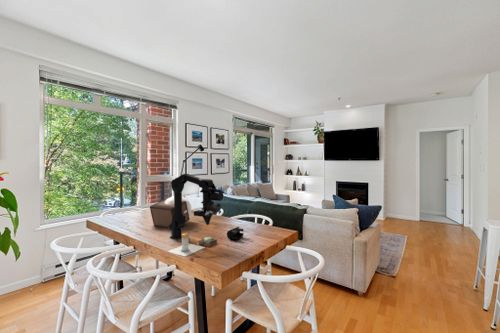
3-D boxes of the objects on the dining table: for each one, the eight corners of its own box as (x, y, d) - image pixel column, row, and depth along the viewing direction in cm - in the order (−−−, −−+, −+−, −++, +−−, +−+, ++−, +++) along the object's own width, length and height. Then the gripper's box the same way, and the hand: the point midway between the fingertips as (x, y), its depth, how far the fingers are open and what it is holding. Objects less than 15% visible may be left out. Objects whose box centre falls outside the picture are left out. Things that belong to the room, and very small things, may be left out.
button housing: (198, 244, 146) (198, 240, 146) (207, 240, 152) (207, 237, 152) (208, 246, 141) (208, 242, 141) (217, 243, 148) (217, 239, 148)
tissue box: (154, 230, 191) (148, 202, 186) (179, 215, 215) (174, 190, 210) (176, 234, 180) (170, 204, 175) (199, 218, 204) (195, 191, 199)
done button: (202, 243, 146) (202, 238, 146) (207, 241, 150) (207, 236, 150) (208, 245, 144) (208, 240, 143) (213, 242, 148) (213, 237, 148)
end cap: (235, 235, 163) (235, 226, 163) (243, 237, 159) (243, 227, 159) (226, 240, 154) (226, 229, 154) (235, 241, 151) (235, 231, 151)
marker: (180, 250, 134) (180, 234, 134) (185, 248, 137) (185, 232, 137) (185, 252, 132) (184, 235, 132) (190, 250, 135) (189, 233, 135)
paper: (167, 252, 134) (167, 251, 134) (188, 243, 148) (188, 243, 147) (184, 256, 127) (184, 256, 127) (205, 247, 140) (205, 247, 140)
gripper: (207, 203, 134) (207, 230, 135) (226, 198, 150) (227, 223, 151) (192, 201, 140) (193, 227, 140) (213, 197, 156) (213, 221, 156)
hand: (207, 224), depth 147 cm, fingers closed
